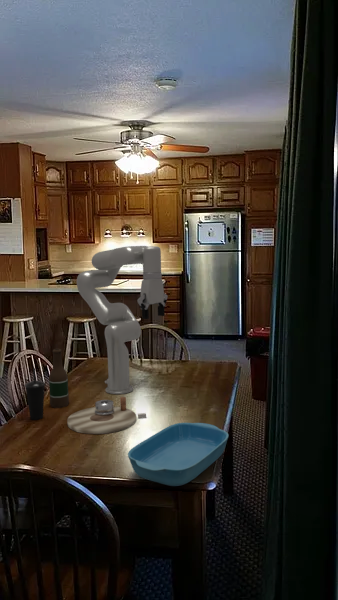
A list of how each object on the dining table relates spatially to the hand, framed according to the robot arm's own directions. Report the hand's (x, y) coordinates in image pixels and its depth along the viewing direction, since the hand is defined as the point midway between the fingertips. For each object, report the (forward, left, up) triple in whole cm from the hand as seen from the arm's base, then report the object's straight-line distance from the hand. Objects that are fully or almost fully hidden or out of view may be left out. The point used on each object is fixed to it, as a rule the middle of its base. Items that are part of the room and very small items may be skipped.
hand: (153, 317), depth 218 cm
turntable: (+1, -30, -36) cm, 47 cm away
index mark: (+10, -18, -36) cm, 42 cm away
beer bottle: (-28, -29, -36) cm, 54 cm away
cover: (-2, -26, -35) cm, 43 cm away
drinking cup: (-22, -44, -36) cm, 62 cm away
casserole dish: (+49, -39, -37) cm, 72 cm away
